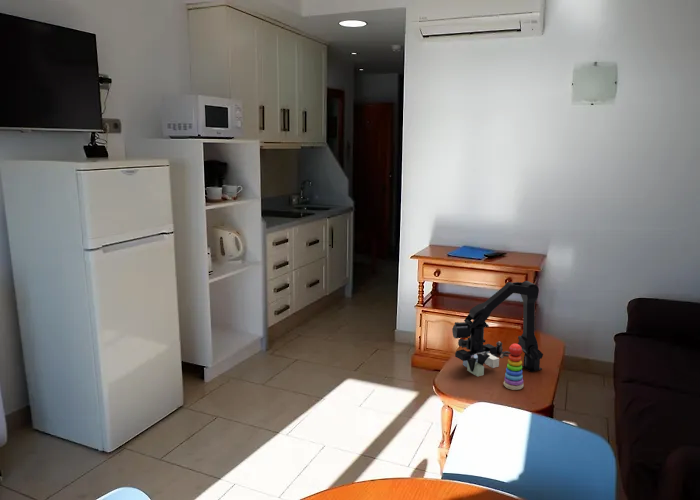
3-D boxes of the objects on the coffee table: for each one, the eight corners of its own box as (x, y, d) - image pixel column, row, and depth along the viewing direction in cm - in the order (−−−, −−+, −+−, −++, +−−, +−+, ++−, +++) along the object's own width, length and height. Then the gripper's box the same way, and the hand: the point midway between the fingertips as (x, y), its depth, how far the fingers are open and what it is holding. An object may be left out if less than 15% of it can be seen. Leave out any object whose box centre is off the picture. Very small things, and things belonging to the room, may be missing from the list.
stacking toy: (499, 384, 226) (501, 341, 223) (515, 381, 229) (517, 339, 225) (511, 392, 219) (513, 348, 215) (527, 388, 222) (530, 345, 218)
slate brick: (475, 362, 249) (475, 354, 248) (480, 365, 246) (480, 357, 245) (462, 365, 246) (463, 356, 245) (467, 368, 243) (467, 359, 242)
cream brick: (498, 366, 244) (499, 358, 243) (492, 368, 243) (492, 359, 242) (488, 361, 250) (488, 353, 250) (482, 362, 249) (482, 354, 248)
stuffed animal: (514, 358, 251) (492, 341, 254) (501, 372, 255) (480, 355, 258) (516, 348, 262) (496, 333, 264) (504, 362, 266) (484, 347, 268)
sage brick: (483, 375, 235) (484, 366, 234) (477, 376, 234) (477, 367, 233) (473, 369, 241) (473, 360, 241) (467, 370, 240) (467, 362, 239)
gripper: (481, 327, 246) (480, 360, 249) (448, 334, 237) (447, 367, 240) (498, 335, 236) (496, 369, 239) (464, 342, 228) (462, 377, 231)
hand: (475, 370), depth 237 cm, fingers closed on sage brick, 3 cm apart
